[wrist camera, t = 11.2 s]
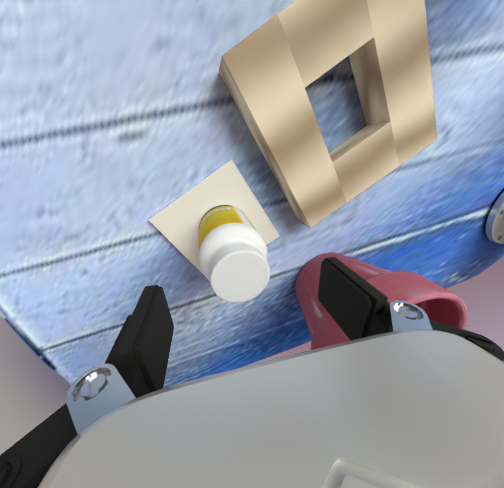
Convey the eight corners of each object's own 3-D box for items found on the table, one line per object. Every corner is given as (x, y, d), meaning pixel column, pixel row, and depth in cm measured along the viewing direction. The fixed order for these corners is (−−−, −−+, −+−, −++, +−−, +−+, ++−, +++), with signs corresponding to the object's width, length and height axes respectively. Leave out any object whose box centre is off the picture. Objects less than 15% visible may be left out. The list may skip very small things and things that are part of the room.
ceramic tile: (277, 234, 24) (279, 235, 23) (211, 280, 24) (212, 283, 24) (230, 159, 19) (231, 159, 19) (149, 218, 20) (148, 220, 19)
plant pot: (366, 220, 26) (493, 268, 15) (365, 296, 33) (453, 371, 21) (267, 256, 25) (324, 340, 13) (286, 328, 31) (336, 427, 20)
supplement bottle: (189, 238, 21) (182, 297, 12) (213, 193, 19) (224, 223, 11) (233, 257, 23) (254, 319, 14) (257, 218, 22) (296, 259, 13)
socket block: (409, 141, 23) (437, 139, 20) (298, 219, 24) (310, 227, 21) (379, -50, 16) (416, -92, 13) (218, 72, 16) (222, 55, 14)
